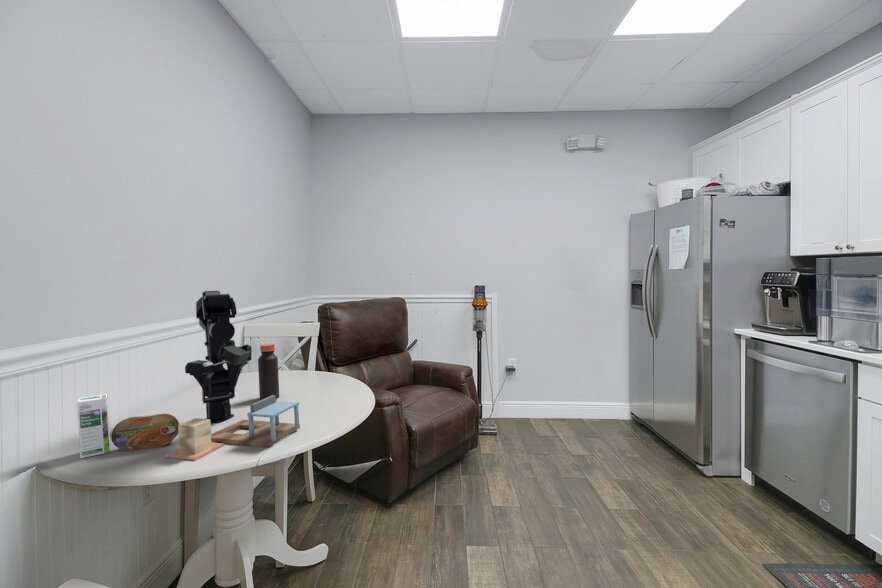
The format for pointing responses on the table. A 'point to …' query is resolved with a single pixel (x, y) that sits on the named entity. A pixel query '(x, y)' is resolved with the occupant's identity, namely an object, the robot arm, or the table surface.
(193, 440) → the maple block
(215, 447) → the terracotta tile
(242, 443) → the puzzle board
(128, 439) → the tin
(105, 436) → the syrup box
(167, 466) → the table surface
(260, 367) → the bottle
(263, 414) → the light blue toy bench
